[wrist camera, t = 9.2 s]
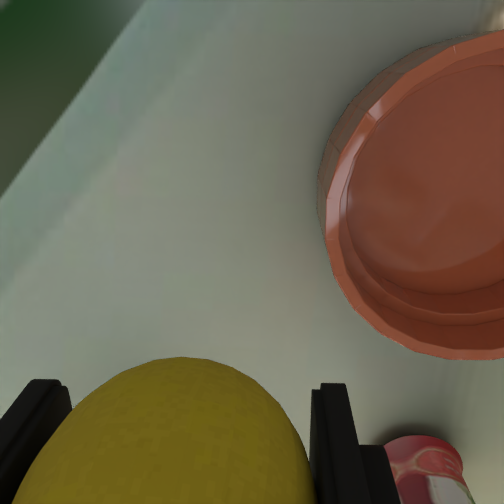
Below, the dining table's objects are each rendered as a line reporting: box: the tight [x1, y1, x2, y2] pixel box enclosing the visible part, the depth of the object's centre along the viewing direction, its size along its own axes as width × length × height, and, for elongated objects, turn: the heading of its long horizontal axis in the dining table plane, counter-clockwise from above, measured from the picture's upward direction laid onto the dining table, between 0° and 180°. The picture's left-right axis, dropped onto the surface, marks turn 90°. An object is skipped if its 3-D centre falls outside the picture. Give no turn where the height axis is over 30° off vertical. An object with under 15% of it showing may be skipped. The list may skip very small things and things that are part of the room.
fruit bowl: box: [317, 29, 504, 360], centre depth 24 cm, size 16×16×6 cm
